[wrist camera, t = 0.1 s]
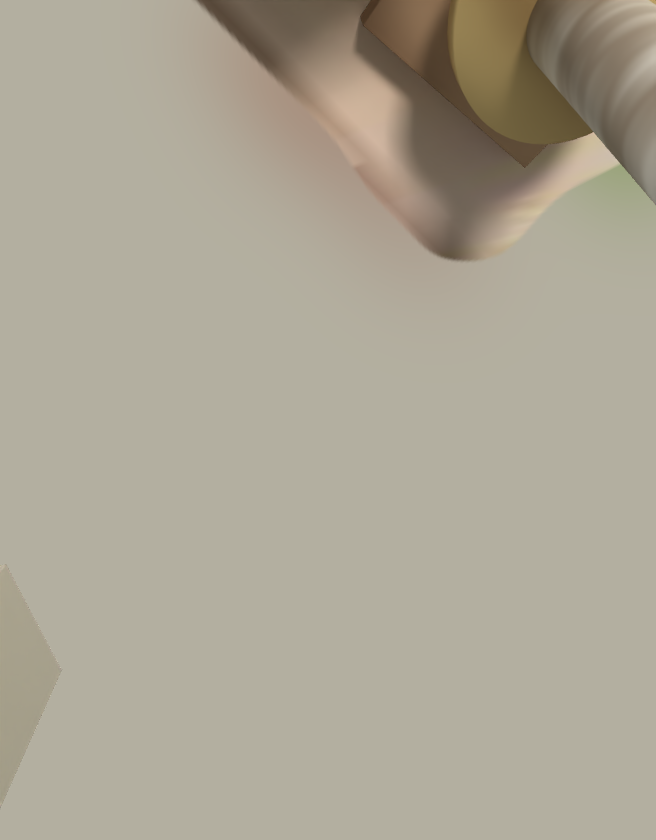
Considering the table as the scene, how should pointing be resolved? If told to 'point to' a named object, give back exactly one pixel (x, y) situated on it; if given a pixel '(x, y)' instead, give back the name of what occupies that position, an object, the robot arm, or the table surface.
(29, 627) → the robot arm
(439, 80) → the post stand
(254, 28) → the table surface
